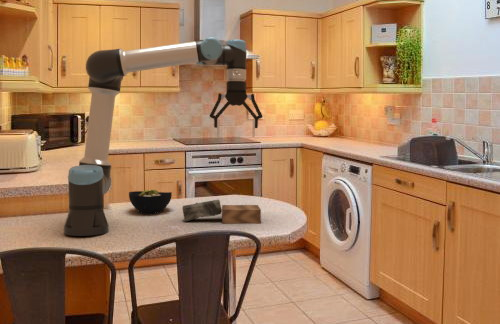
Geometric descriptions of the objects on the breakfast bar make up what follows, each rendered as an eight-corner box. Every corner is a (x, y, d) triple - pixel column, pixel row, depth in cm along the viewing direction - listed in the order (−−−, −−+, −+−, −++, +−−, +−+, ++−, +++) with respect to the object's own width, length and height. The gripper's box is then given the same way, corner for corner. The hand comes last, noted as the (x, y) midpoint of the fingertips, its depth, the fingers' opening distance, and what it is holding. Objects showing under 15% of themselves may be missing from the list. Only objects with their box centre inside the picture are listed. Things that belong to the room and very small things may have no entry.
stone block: (222, 214, 201) (219, 201, 201) (184, 223, 200) (181, 209, 200) (222, 211, 210) (219, 197, 210) (185, 219, 209) (182, 205, 209)
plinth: (222, 223, 199) (222, 210, 198) (222, 217, 213) (222, 205, 212) (260, 223, 200) (260, 209, 199) (257, 217, 213) (257, 204, 213)
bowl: (164, 217, 212) (164, 192, 211) (122, 216, 215) (122, 191, 214) (176, 211, 229) (176, 188, 228) (137, 210, 231) (137, 187, 231)
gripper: (203, 79, 204) (202, 136, 205) (269, 80, 205) (269, 137, 206) (204, 81, 211) (203, 136, 212) (268, 82, 212) (267, 136, 213)
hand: (235, 136), depth 209 cm, fingers open, 13 cm apart
